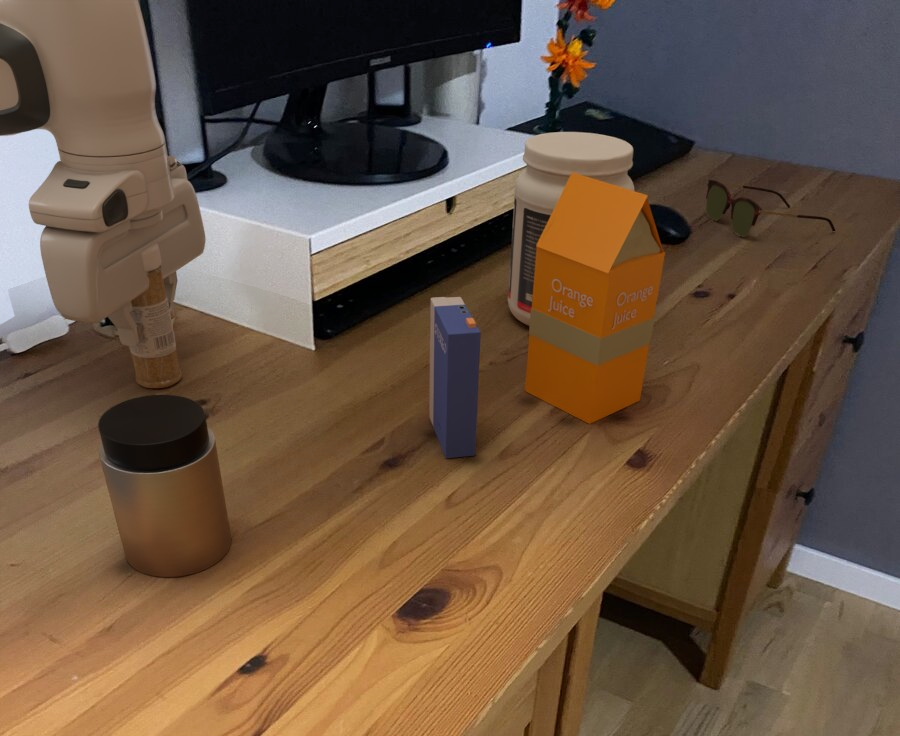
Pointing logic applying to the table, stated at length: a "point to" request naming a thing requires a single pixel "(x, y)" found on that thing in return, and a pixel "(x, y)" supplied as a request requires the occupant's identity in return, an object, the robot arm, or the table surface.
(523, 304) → the supplement tub
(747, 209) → the sunglasses
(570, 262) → the orange juice
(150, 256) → the sprinkles bottle
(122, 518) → the flask
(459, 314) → the walkman
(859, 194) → the table surface
